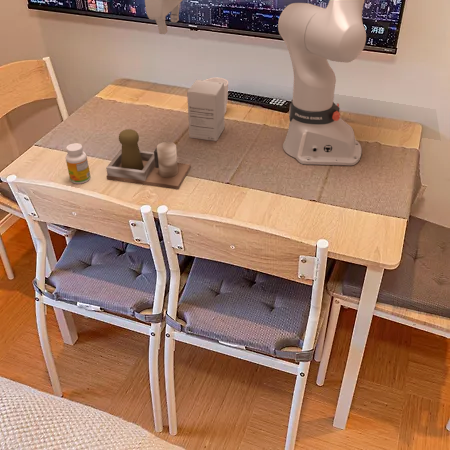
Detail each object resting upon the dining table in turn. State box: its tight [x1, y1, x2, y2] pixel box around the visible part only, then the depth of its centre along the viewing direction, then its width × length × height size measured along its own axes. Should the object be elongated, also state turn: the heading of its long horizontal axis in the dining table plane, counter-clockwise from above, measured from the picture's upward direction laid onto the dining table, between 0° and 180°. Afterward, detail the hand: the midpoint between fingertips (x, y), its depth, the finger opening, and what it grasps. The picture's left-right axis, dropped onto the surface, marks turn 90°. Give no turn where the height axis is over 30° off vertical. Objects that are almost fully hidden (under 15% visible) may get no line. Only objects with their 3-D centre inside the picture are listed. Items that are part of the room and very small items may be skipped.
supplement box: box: [186, 79, 225, 142], centre depth 157 cm, size 9×9×15 cm
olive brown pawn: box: [118, 128, 144, 170], centre depth 140 cm, size 6×6×11 cm
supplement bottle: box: [65, 142, 91, 185], centre depth 138 cm, size 5×5×10 cm
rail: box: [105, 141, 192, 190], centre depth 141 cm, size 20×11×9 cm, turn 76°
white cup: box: [204, 77, 229, 115], centre depth 170 cm, size 8×8×10 cm
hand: (169, 27), depth 136 cm, fingers open, 8 cm apart
